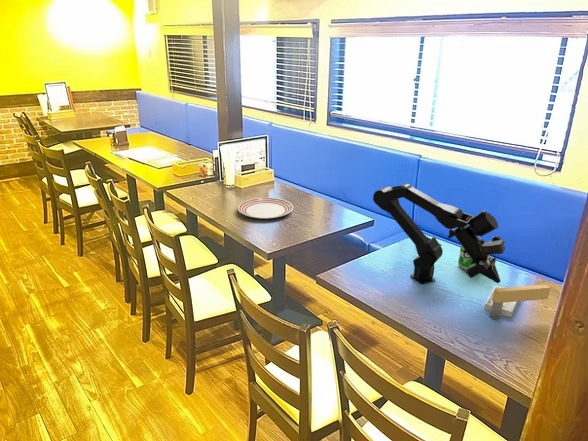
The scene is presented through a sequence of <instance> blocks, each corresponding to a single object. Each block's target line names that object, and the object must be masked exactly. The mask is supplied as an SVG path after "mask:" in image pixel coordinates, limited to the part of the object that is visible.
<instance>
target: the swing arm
mask: <svg viewBox="0 0 588 441" xmlns="http://www.w3.org/2000/svg"><path fill="white" fill-rule="evenodd" d="M493 289H494V288H493ZM550 292H551V287H550V286H549V285H548V284H547V283H546V284H537V285H535V284H534V285H521V286H507V287H502V288H495V289H494V294H493V298H492V300H493V304H492V309H491V311H490V315H489V317H490V318H491V319H492V320H493V319H494V320H500V318H501V310H502V306H503V303H505V302H517V301H518V302H526V301H529V302H530V301H539V300H548V299H549V296H550Z"/></svg>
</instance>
